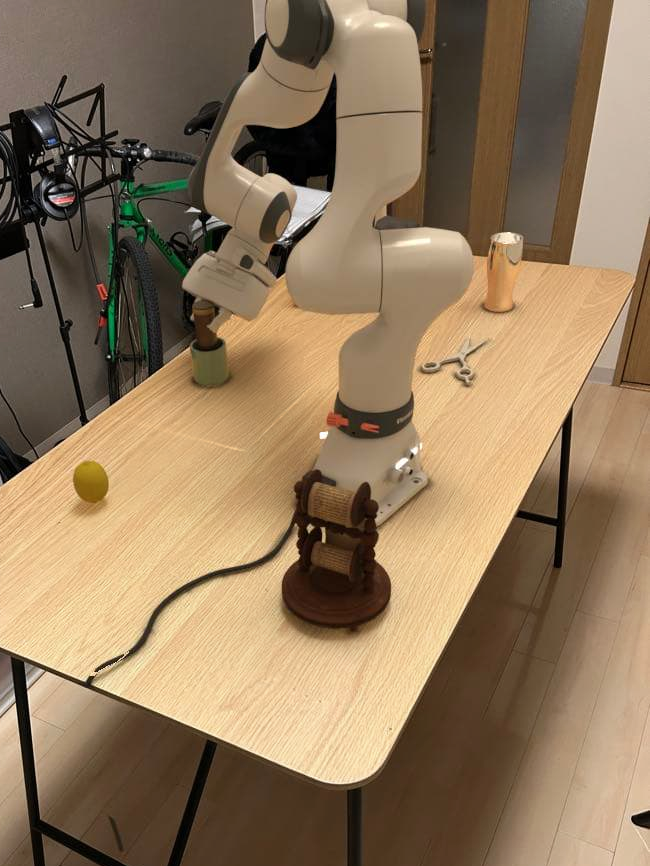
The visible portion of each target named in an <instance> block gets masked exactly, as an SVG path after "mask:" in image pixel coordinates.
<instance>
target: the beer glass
mask: <svg viewBox="0 0 650 866" xmlns="http://www.w3.org/2000/svg"><path fill="white" fill-rule="evenodd" d="M523 236H524V235H522V234H519V233H516V232H509V231H508V232H507V231H505V232H503V231H502V232H497V233H495V234H493V235H491V236H490V241H489V245H488V251H487V256H486V257H487V259H486V276H487V277H486V279H487V292H486V297H485V300H484V303H483V307H484V309H486V310H487V311H490V312H494V313H505V312H509V311H511V310H512V309H513V306H514V303H513V302H514V301H513V299H514V298H513V296H514V295H513V294H514V288H515V284H516V281H517V278H518V274H519V272H520V270H521V269H520V268H521V264H522V259H523V249H524V237H523Z"/></svg>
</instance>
